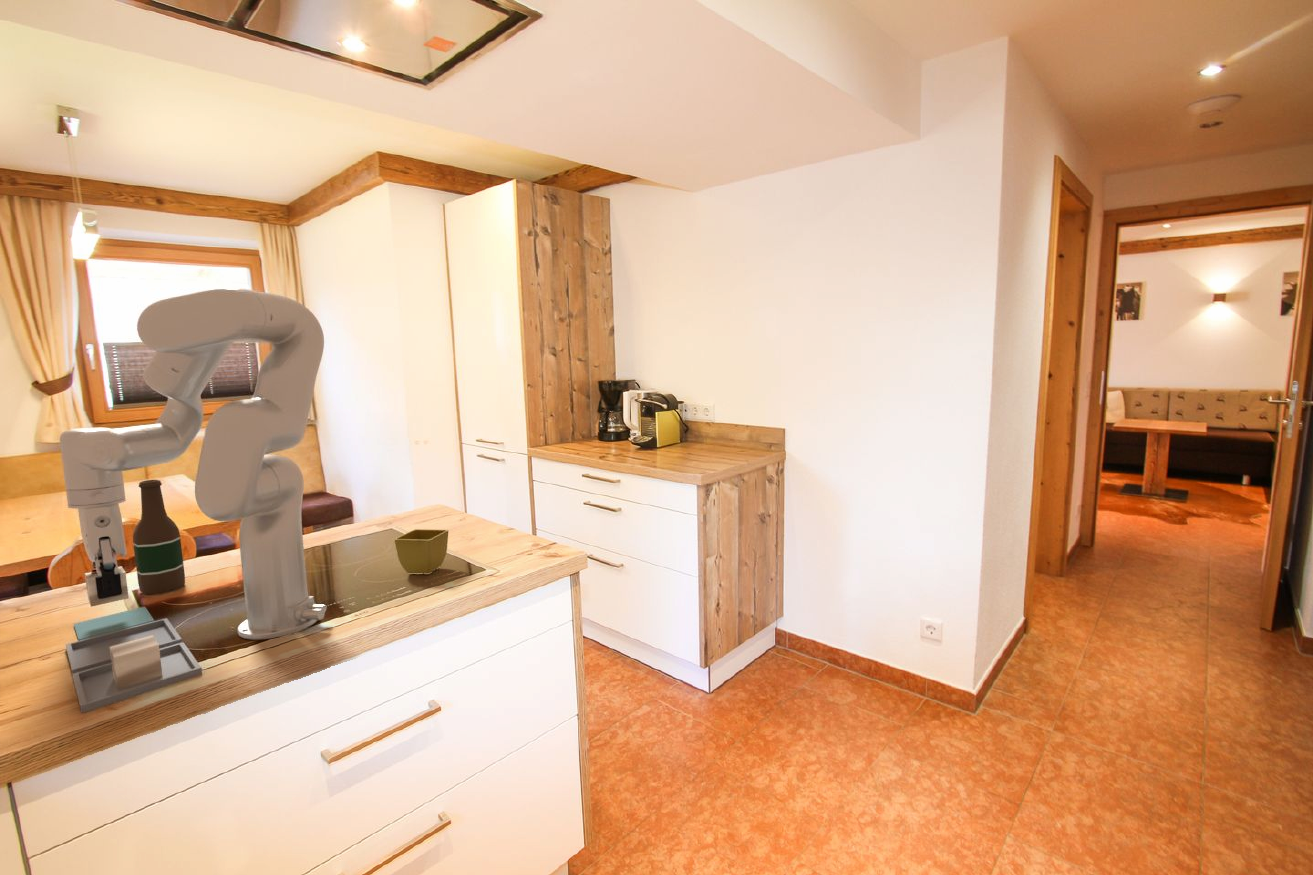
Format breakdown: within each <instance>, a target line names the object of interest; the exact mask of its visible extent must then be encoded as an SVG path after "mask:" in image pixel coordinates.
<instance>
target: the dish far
mask: <svg viewBox="0 0 1313 875" xmlns="http://www.w3.org/2000/svg"><path fill="white" fill-rule="evenodd" d="M152 635H153V636H154V638H155V640H156V641H157V643H158V644H159V649H161V648H164V647H168V646H171V645H175V644H178V643H182V642H183V639H182V637H181V636H180V635H179V633H178V632H177V631H176V629H175V627H174V626H173V625H172V623H171V622H170V620H169V619H168V617H165V618H161V619H158V620H154V621H153V622H149V623H146V624H142V625H138V626H134V627H130V628H126V629H122V630H118V631H115V632H111V633H107V634H103V635H99V636H95V637H91V638H87V639H84V640H80V641H78V640H76V641H72V642H68V643H66V644H65V651H66V654H67V657H68V662H69V665H70V670H71V673H72V675H73V674H74V673H77V672H81V671H84V670H88V669H91V668H95V667H98V666H102V665H105V664H108V663H112V661H111V654H110V647H111V646H115V645H119V644H122V643H126V642H130V641H133V640H137V639H141V638H144V637H148V636H152Z"/></svg>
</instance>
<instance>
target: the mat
mask: <svg viewBox="0 0 1313 875" xmlns="http://www.w3.org/2000/svg"><path fill="white" fill-rule="evenodd" d="M153 621H155V619H154V618H153V616H152V615H151V613H150V612H149V610H148V608H146V606H141V607H137V608H133V609H130V610H125V611H121V612H116V613H113V614H109V615H104V616H100V617H96V618H92V619H87V620H83V621H79V622H76V623H73V628H74V630H75V633H76V634H75V635H76V637H77V641H80V640H84V639H87V638H91V637H95V636H99V635H103V634H107V633H111V632H115V631H118V630H122V629H126V628H130V627H134V626H138V625H142V624H146V623H149V622H153Z"/></svg>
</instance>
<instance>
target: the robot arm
mask: <svg viewBox="0 0 1313 875" xmlns="http://www.w3.org/2000/svg"><path fill="white" fill-rule="evenodd" d="M136 330H137V334H138V337H139V338H140V341H141V342H142V344H144V345H145V346H146V347H147V348H149V349H151V350H153V351H155V353H154V355H153V356H152V358H151V359H150V360H149V363H148V364H147V366H146V367H145V369H144V370H143V372H142V378H143V381H144V383H145V384H146V385H147V386H148V387H150V388H151V389H152V390H153V391H155V392H157V393H158V394H160V395H162V396H163V397H165V398H167V402H166V404H165V407H164V409H163V410H162V412H161V414H160V415H159V417H158V418H157V419H156V421H155V423H153V424H145V425H143V424H142V425H133V426H128V427H119V428H118V427H117V428H109V427H79V428H72V429H67V430H64V431H63V432H62V433H61V434H60V435H59V446H60V453H61V454H60V455H61V462H62V470H63V476H64V486H65V493H66V501H67V508H68V509H76V510H77V511H78V520H79V527H80V533H81V538H82V542H83V543H82V544H83V546H84V549H85V552H86V554H87V557H88V559H89V560H90V562H91V563H92V570H91V572H95V571H97V577H95V579H96V588H97V596H98V598H99V599H103V598H108V597H112V596H117V595H121V594H122V587H121V578H120V573H118V567H119V566H118V561H117V555H118V556H121V557H122V558H124V557H126V556H127V555H128V552H127V547H126V540H125V532H124V525H123V518H122V513H121V509H120V505H119V504H121V503H124V502H126V492H125V484H124V476H123V474H124V473H123V472H124V471H125V472H127V471H131V470H136V469H137V470H138V469H142V468H145V467H146V468H147V467H151V466H155V465H162V464H168V463H171V462H173V461H176V460H177V459H178V458H180V457H181V456H183V454H184V453H185V452H186V451H187V449H188V448H189V447H190V446H191V445H192V443H193V441H194V440H195V438H196V437H197V435H198V434H199V432H200V430H201V428H202V426H203V422H204V404H203V401H202V397H201V395H202V393H203V391H204V390H205V388H207V385H208V384H209V382H210V380H211V379H212V377H213V376H214V374H215V372H216V371H217V370H218V368H219V366H220V365H221V363H222V362H223V360H224V359H225V357H226V355H227V354H228V353H229V351H230V349H231V348H232V346H233V345H234V342H247V343H263V344H266V343H268V344H270V345H271V349H270V352H269V353H268V354H267V355H266V357H265V358H264V360H263V361H262V364H261V365H260V368H259V370H258V373H257V380H256V384H255V388H254V392H253V394H252V397H251V398H247V399H245V398H244V399H237V400H233V401H229V402H227V403H224V404H223V405H221V406H219V407H218V408H217V409H216V410H215V411H214V412H213V414H212V415H211V416H210V418H209V419H208V421H207V423H206V425H205V430H204V434H203V440H202V444H201V445H202V446H201V448H200V449H201V450H200V453H199V454H200V455H199V460H198V466H197V471H196V477H195V483H194V496H195V501H196V504H197V505H198V508H199V510H200V511H201V512H202V513H203V514H204V515H205V516H206V517H208V518H210V519H211V520H214V521H217V522H234V521H239V520H240V525H239V532H238V540H239V541H238V542H239V553H240V561H241V571H242V572H241V573H242V579H243V580H242V581H243V590H244V591H243V592H244V599H245V600H244V601H245V608H246V618H247V619H245V620H243V621H242V622H241V623H240V624H239V625H238V626H237V634H238V636H239V637H240V638H242V639H247V640H255V641H256V640H269V639H275V638H278V637H283V636H287V635H293V634H295V633H299V632H300V631H303V630H305V629H307V628H309V627H311V626H312V625H314V624H315V623H316V622H317V621H321V620H323V619H324V618H325V615H326V613H325V612H326V611H327V609H328V608H327V605H326V604H316V603H315V599H314V598H315V596H313V595H309V591H308V582H307V570H306V569H307V568H306V561H305V550H304V539H303V538H304V537H303V536H304V535H303V523H302V521H303V520H302V505H303V499H304V498H303V497H304V496H303V495H304V488H305V487H304V485H305V484H304V476H303V473H302V470H301V468H300V466H299V465H298V464H297V463H296V462H295V461H294V460H292V459H290V458H289V457H286V456H283V455H279V454H274V453H277V452H283V451H285V450H290V449H292V448H295V447H296V446H298V445H299V444H300V443H302V441H303V438H304V437H305V434H306V430H307V425H308V422H309V421H308V420H309V417H310V411H311V406H312V402H313V396H314V393H315V392H314V391H315V384H316V380H317V375H318V373H319V369H320V366H321V362H322V359H323V353H324V348H325V337H324V332H323V329H322V326H321V324H320V322H319V320H318V318H317V317H316V316H315V314H314V313H313V312H312V311H311V310H310V309H309V308H307V307H306V306H305V305H303V304H302V303H301V302H299V301H296V300H295V299H292V298H290V297H287V296H284V295H280V294H275V293H269V292H263V291H258V290H253V289H247V288H242V287H241V288H240V287H235V286H234V287H233V286H232V287H231V286H223V287H215V288H210V289H205V290H200V291H197V292H191V293H188V294H181V295H177V296H172V297H168V298H163V299H160V300H158V301H155V302H153V303H151V304H149V305H147V306H146V307H145V309H143V311H142V312H141V313H140V316H139V317H138V320H137V323H136Z"/></svg>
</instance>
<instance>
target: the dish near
mask: <svg viewBox="0 0 1313 875" xmlns="http://www.w3.org/2000/svg"><path fill="white" fill-rule="evenodd" d="M159 651H160V659H161V667H162V675H163V676H160V677H157V678H154V679H151V680H147V681H144V682H141V683H138V684H135V685H131V686H128V687H125V688H122V689H119V690H118V688H117V685H116V682H115V680H114V676H113V669H112V663H108V664H105V665H102V666H98V667H95V668H91V669H88V670H84V671H81V672H77V673H74V674H72V679H73V680H72V681H73V684H74V688H75V692H76V695H77V700H78V703H79V708H80V712H81V714H85V713H87V712H90V711H93V710H94V711H95V710H96V709H99V708H103V707H105V706H108V705H112V704H115V703H119V702H121V701H124V700H127V699H131V698H133V697H136V696H139V695H142V694H145V693H149V692H152V691H155V690H157V689H160V688H164V687H167V686H170V685H172V684H176V683H179V682H183V681H185V680H188V679H189V680H190V679H192V678H194V677H197V676H200V675H203V671H202V670H203V669H202V666H201V665H200V663H199V662H198V661H197V659H196V658H195V656H194V655H193V653H192V652H191V651H190V649H189V648H188V647H187V645H186V644H185V643H184V641H182V643H178V644H175V645H171V646H168V647H164V648H161V649H159Z"/></svg>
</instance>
